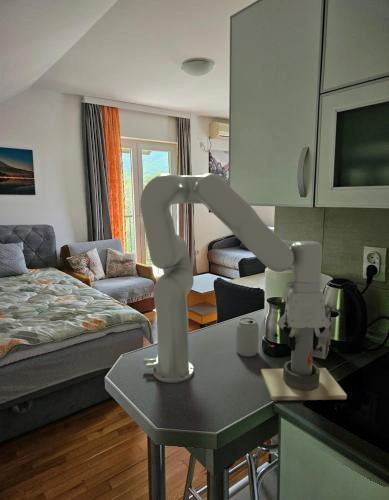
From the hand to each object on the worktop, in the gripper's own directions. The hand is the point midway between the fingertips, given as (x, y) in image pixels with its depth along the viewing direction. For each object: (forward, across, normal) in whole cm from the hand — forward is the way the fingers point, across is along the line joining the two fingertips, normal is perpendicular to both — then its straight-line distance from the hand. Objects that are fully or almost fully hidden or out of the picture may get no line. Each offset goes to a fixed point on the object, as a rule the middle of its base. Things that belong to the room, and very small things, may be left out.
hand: (302, 347), depth 93 cm
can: (+12, -12, +20) cm, 26 cm away
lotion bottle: (+8, 0, 0) cm, 8 cm away
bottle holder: (+11, 0, 0) cm, 11 cm away
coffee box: (+12, +13, +20) cm, 27 cm away
